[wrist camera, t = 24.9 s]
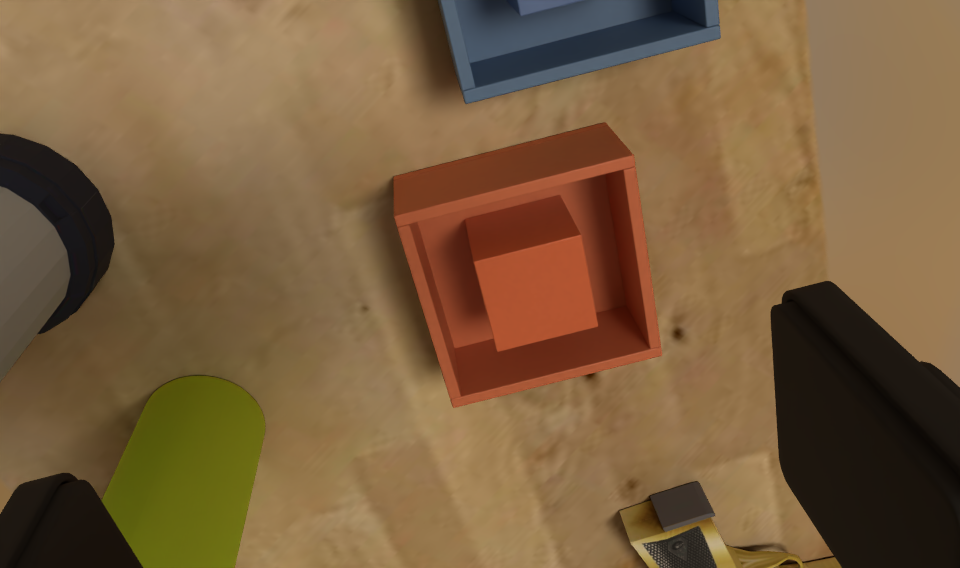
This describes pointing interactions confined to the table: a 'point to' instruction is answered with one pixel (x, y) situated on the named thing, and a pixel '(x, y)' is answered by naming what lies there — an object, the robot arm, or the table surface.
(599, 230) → the terracotta bin
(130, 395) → the table surface
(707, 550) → the handgun
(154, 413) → the soap dispenser
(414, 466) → the table surface
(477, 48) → the blue bin
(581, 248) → the terracotta block
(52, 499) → the robot arm
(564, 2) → the blue block
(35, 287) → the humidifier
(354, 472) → the table surface
